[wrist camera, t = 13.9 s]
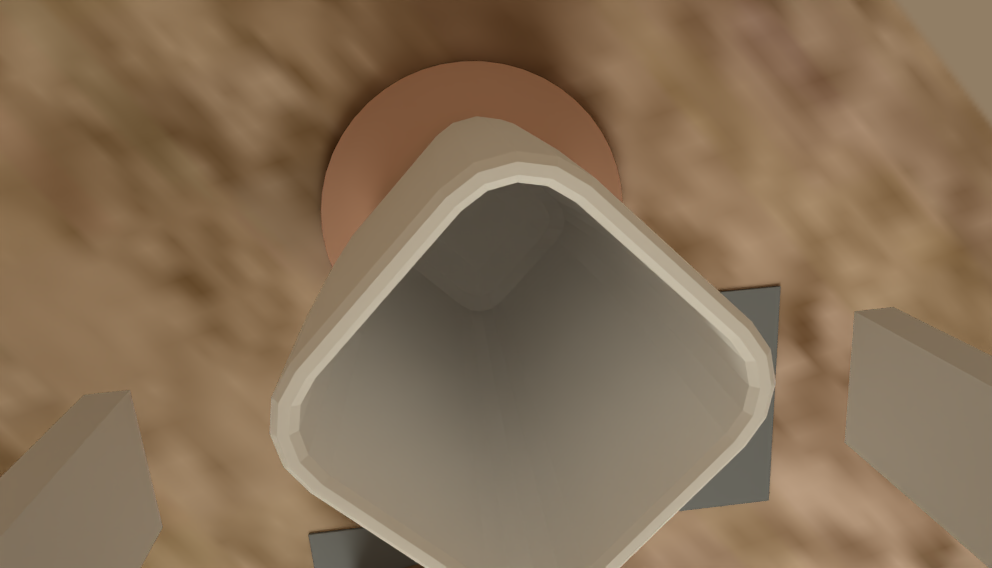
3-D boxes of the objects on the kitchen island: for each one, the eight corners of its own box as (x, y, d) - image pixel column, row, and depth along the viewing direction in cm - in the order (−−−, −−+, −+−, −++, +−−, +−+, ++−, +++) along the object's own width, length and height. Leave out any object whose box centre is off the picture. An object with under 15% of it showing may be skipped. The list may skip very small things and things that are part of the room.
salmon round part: (344, 365, 28) (343, 371, 28) (301, 72, 25) (298, 73, 24) (621, 337, 29) (625, 343, 29) (616, 49, 26) (620, 49, 25)
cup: (463, 72, 25) (514, 103, 11) (612, 208, 27) (818, 382, 13) (331, 230, 26) (223, 442, 12) (482, 349, 28) (542, 649, 14)
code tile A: (543, 521, 32) (545, 527, 32) (531, 307, 29) (532, 311, 28) (764, 495, 33) (769, 500, 32) (775, 283, 30) (780, 287, 29)
